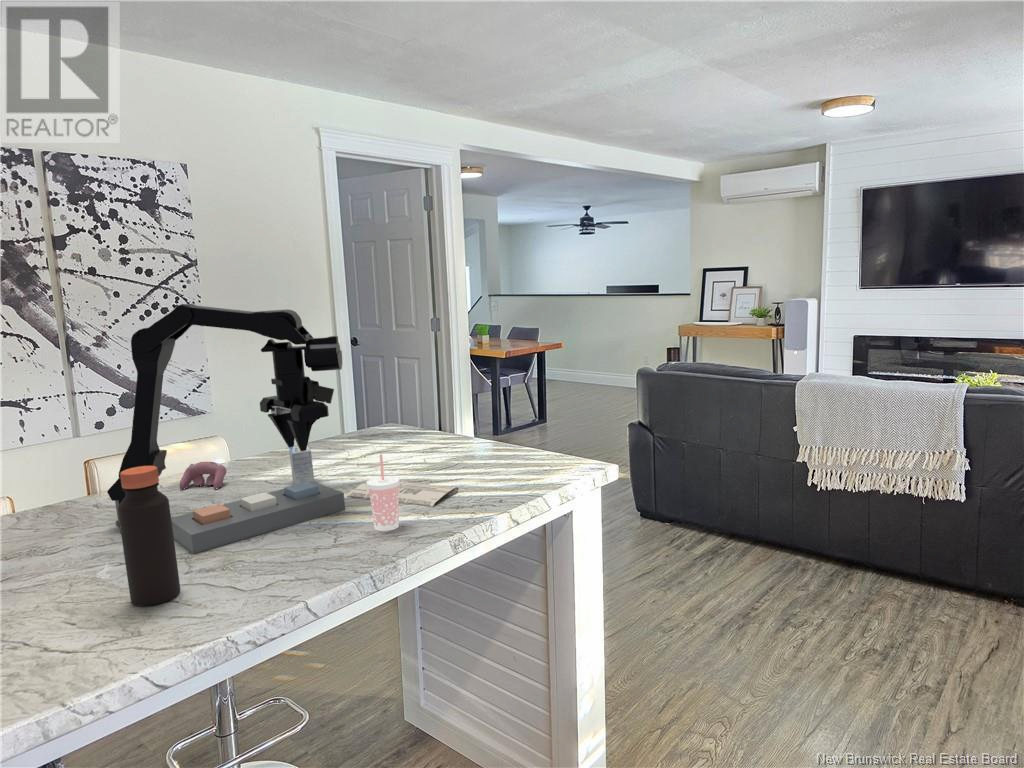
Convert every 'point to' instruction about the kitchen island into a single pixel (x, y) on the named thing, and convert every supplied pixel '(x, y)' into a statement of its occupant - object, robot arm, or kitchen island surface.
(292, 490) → the slate blue key
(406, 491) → the newspaper
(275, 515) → the key panel
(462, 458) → the kitchen island surface
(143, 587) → the bottle
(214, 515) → the terracotta key
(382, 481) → the beverage cup
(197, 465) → the video game controller
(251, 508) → the offwhite key
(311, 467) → the medicine box
